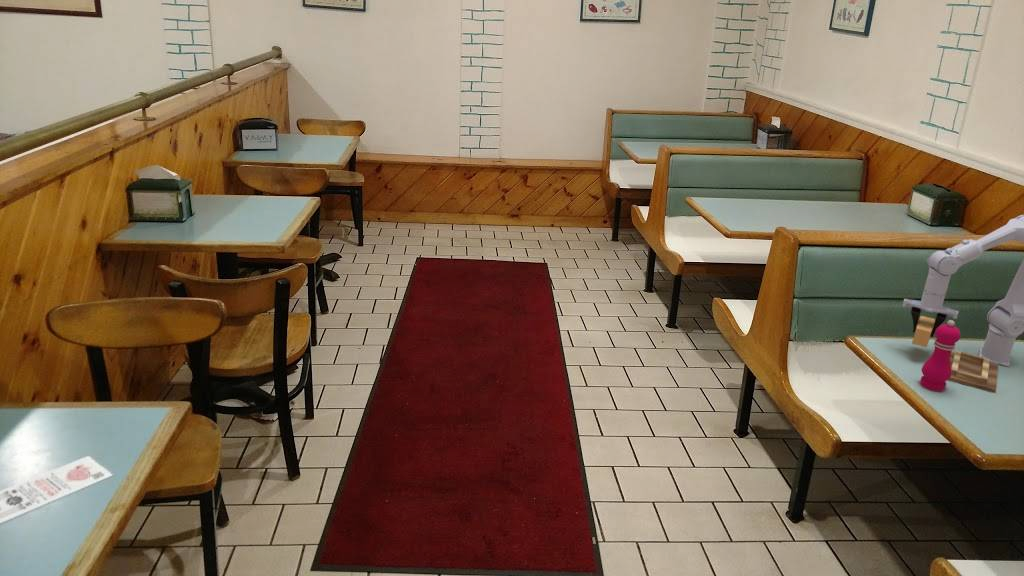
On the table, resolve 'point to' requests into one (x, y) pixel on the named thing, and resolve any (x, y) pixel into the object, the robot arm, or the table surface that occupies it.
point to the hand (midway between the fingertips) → (922, 333)
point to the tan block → (923, 331)
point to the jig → (973, 371)
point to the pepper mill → (940, 358)
